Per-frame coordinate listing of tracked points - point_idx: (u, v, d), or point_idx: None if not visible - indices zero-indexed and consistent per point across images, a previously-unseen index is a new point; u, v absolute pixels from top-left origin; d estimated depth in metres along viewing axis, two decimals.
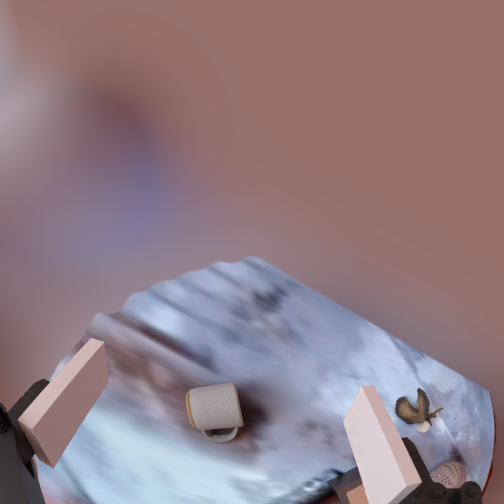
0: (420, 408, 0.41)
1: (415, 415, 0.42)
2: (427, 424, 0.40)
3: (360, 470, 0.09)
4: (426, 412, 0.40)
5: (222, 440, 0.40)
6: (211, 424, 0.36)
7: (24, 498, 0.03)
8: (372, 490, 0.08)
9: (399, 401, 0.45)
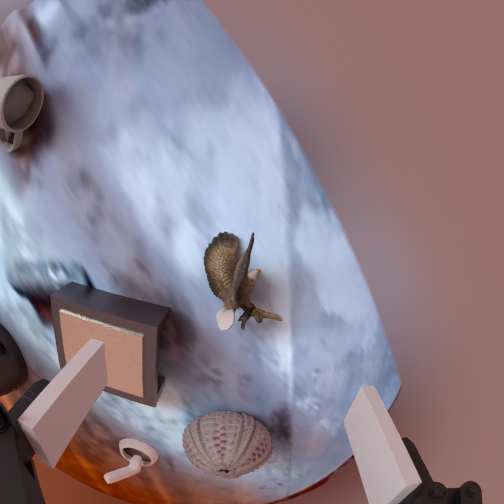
0: None
1: (225, 284, 0.28)
2: (230, 319, 0.27)
3: (360, 470, 0.09)
4: (235, 293, 0.26)
5: (6, 149, 0.26)
6: None
7: (24, 498, 0.03)
8: (372, 489, 0.08)
9: (223, 239, 0.30)
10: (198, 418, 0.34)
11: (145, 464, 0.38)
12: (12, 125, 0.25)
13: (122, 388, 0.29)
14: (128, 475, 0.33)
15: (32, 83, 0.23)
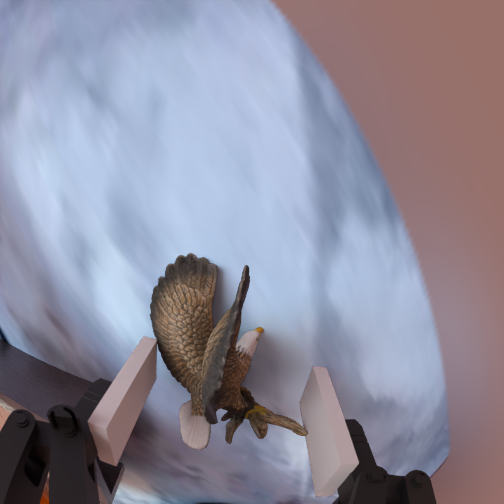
0: None
1: (191, 366, 0.13)
2: (203, 434, 0.12)
3: (308, 449, 0.11)
4: None
5: None
6: None
7: None
8: (316, 469, 0.09)
9: (188, 270, 0.14)
10: None
11: None
12: None
13: None
14: None
15: None
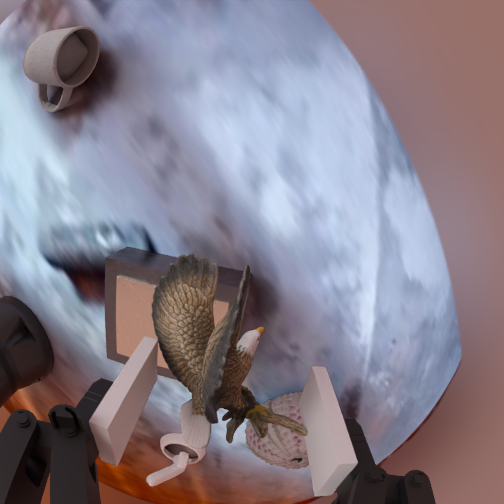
0: None
1: (192, 365, 0.13)
2: (203, 433, 0.12)
3: (307, 449, 0.11)
4: None
5: (48, 109, 0.25)
6: (32, 68, 0.19)
7: None
8: (315, 468, 0.09)
9: (189, 269, 0.14)
10: (268, 402, 0.31)
11: None
12: None
13: None
14: (173, 475, 0.31)
15: (87, 39, 0.22)
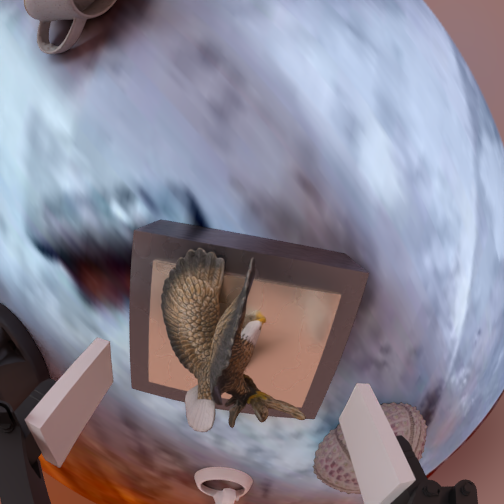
0: None
1: (198, 352, 0.14)
2: (208, 416, 0.13)
3: (355, 468, 0.10)
4: None
5: (49, 51, 0.16)
6: None
7: (30, 498, 0.03)
8: (366, 487, 0.08)
9: (197, 263, 0.15)
10: None
11: None
12: None
13: None
14: None
15: None
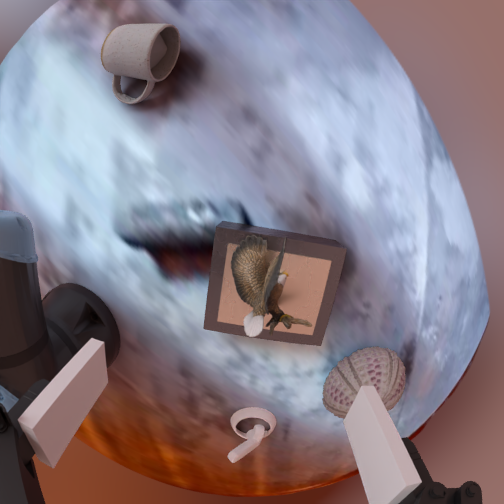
0: (265, 281, 0.26)
1: (254, 289, 0.28)
2: (259, 325, 0.27)
3: (360, 470, 0.09)
4: None
5: (126, 101, 0.30)
6: (116, 57, 0.24)
7: (24, 498, 0.03)
8: (372, 489, 0.08)
9: (252, 243, 0.29)
10: (346, 358, 0.36)
11: None
12: None
13: (290, 328, 0.32)
14: (251, 449, 0.35)
15: (167, 37, 0.27)
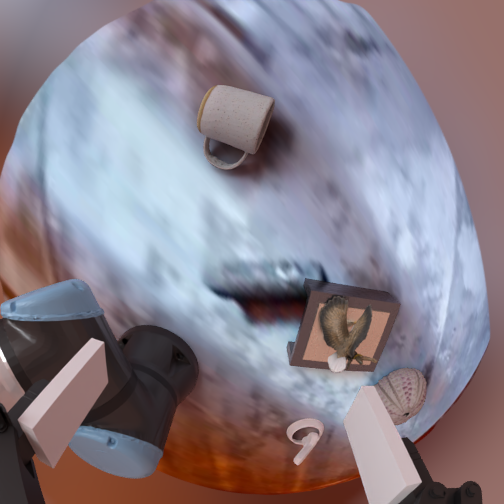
0: (351, 334, 0.33)
1: (340, 338, 0.35)
2: (343, 364, 0.34)
3: (360, 470, 0.09)
4: (354, 347, 0.32)
5: (218, 165, 0.37)
6: (219, 126, 0.31)
7: (24, 498, 0.03)
8: (372, 490, 0.08)
9: (337, 302, 0.36)
10: (385, 378, 0.43)
11: None
12: None
13: (355, 361, 0.39)
14: None
15: None
